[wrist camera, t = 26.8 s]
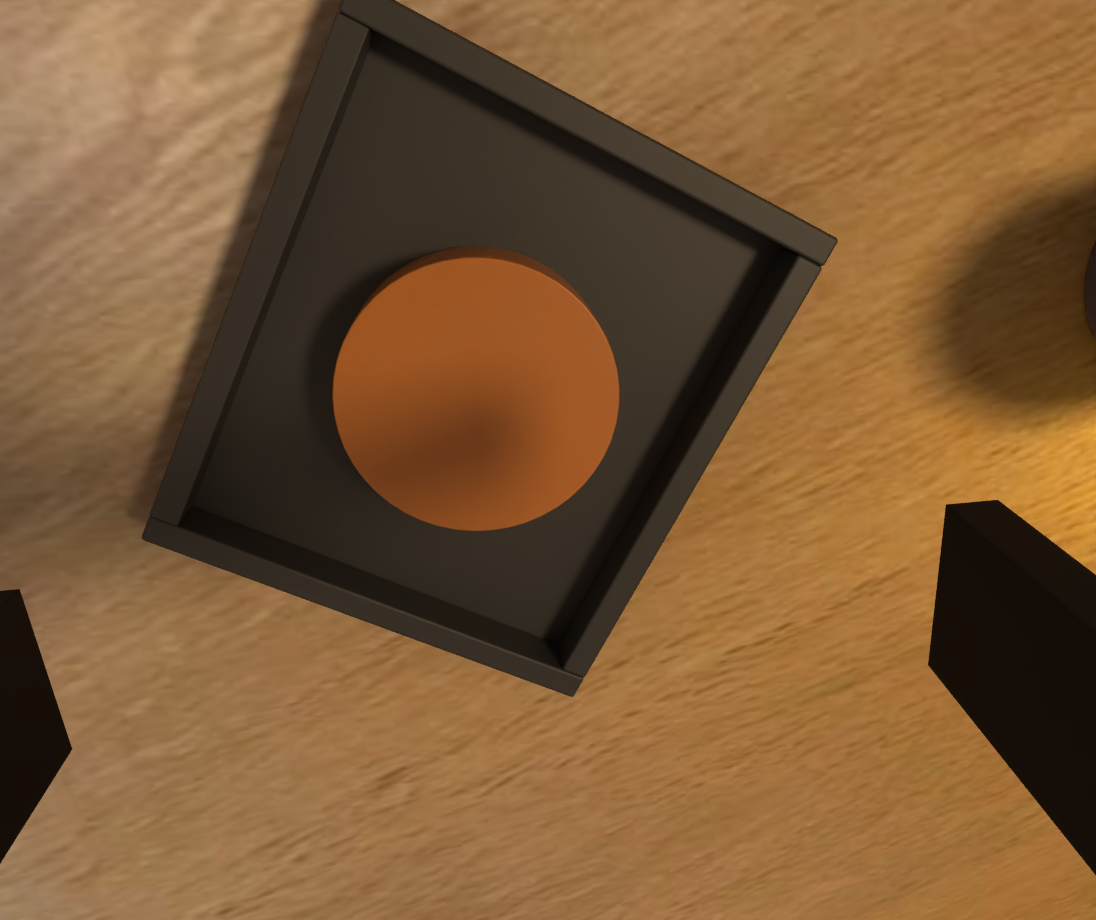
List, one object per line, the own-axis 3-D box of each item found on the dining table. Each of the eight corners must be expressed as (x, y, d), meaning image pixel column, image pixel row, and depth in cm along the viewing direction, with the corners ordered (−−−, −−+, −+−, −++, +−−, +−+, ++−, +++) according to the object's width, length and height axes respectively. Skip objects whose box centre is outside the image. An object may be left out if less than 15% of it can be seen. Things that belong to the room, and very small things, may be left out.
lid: (537, 539, 28) (542, 572, 26) (302, 444, 26) (288, 471, 24) (654, 317, 25) (670, 334, 23) (405, 196, 24) (400, 204, 22)
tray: (360, -13, 22) (350, -24, 20) (813, 230, 25) (840, 239, 23) (162, 510, 27) (139, 540, 25) (566, 662, 30) (573, 698, 28)
